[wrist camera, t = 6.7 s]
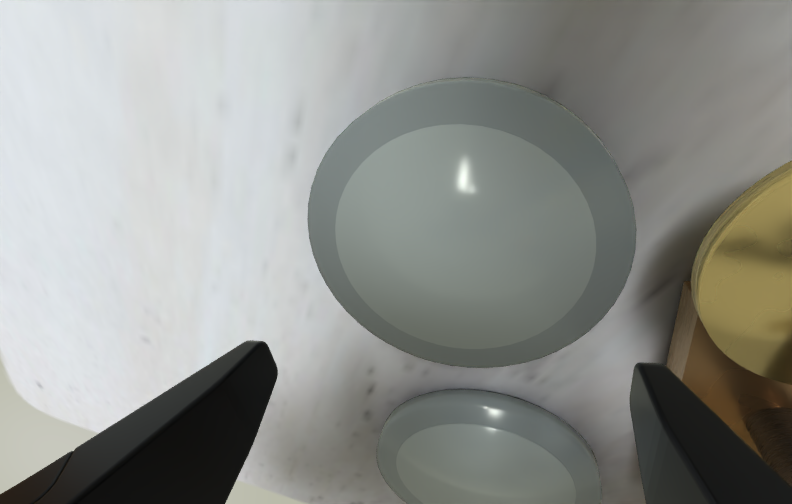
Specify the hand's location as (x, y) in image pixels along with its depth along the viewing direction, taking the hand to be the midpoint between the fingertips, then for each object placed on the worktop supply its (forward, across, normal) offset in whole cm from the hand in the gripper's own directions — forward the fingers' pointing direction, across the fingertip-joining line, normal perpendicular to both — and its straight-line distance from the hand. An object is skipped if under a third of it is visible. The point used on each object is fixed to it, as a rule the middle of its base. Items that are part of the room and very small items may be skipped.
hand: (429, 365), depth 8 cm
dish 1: (+5, 0, 0) cm, 5 cm away
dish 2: (+5, 0, +11) cm, 12 cm away
